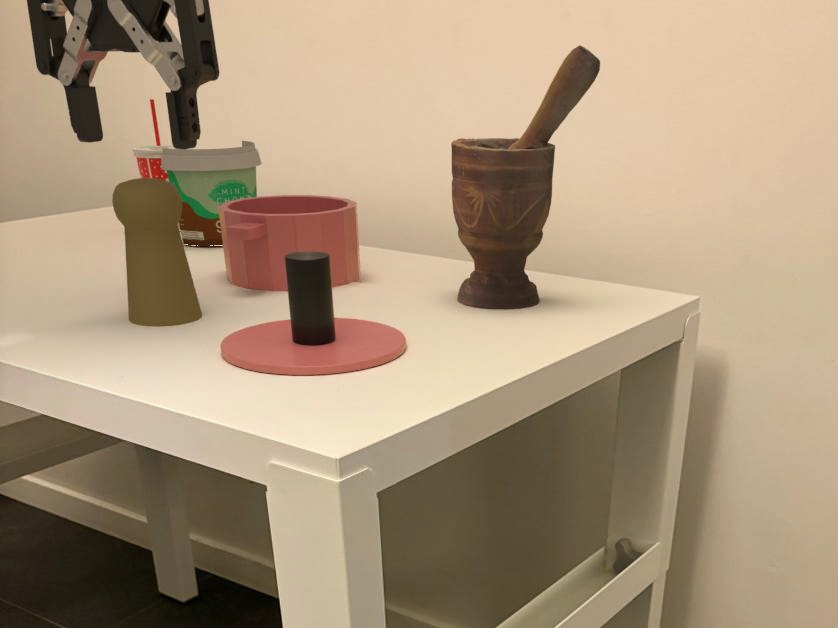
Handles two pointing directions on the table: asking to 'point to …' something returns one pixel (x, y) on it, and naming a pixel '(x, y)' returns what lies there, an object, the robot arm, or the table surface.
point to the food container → (209, 186)
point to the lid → (312, 330)
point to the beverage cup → (152, 155)
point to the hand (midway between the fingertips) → (137, 144)
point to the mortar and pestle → (512, 193)
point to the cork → (155, 254)
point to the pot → (288, 237)
